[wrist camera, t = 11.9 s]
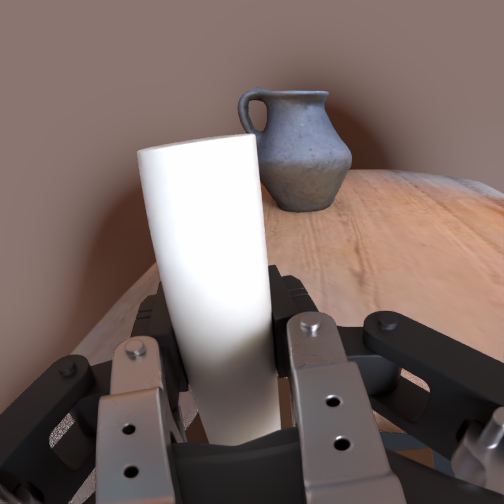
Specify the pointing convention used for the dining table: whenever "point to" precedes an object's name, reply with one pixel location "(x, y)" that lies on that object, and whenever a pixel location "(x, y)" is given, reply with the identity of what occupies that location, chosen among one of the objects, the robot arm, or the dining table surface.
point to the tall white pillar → (217, 283)
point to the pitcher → (297, 149)
